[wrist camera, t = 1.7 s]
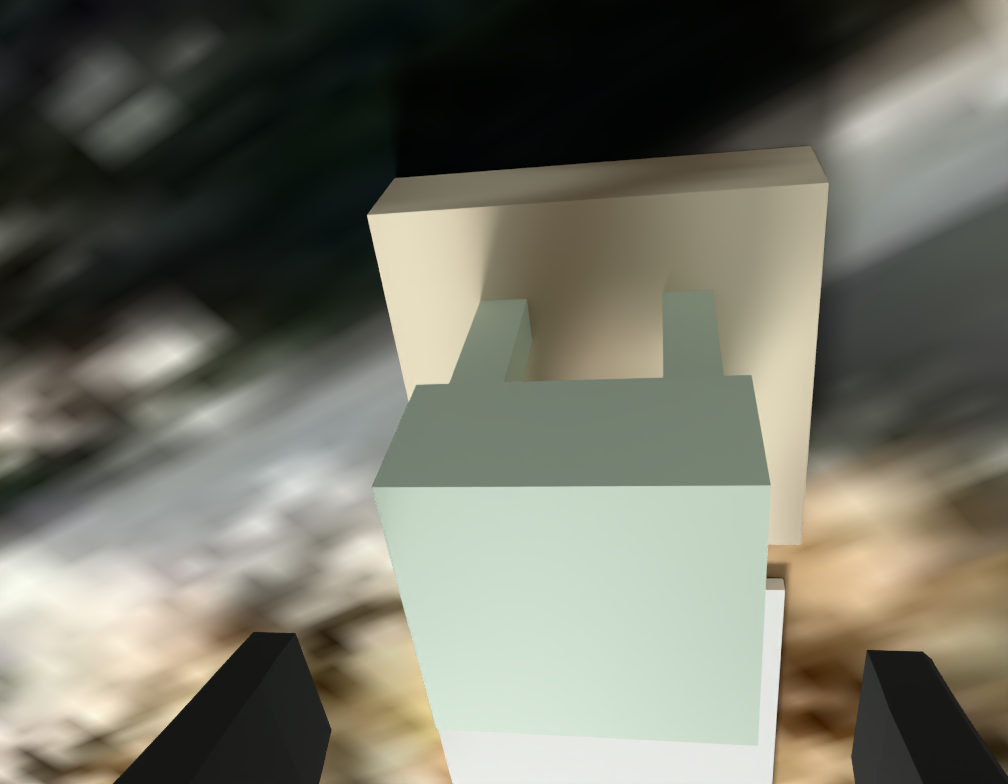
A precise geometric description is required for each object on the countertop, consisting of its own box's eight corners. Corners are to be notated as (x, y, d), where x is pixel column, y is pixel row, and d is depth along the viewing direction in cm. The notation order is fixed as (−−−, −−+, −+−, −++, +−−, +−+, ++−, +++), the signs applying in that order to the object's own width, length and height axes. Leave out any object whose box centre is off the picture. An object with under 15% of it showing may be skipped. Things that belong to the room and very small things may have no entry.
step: (810, 145, 16) (829, 182, 14) (788, 485, 20) (801, 544, 18) (394, 178, 17) (367, 215, 16) (456, 487, 21) (439, 542, 20)
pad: (782, 578, 21) (785, 590, 21) (768, 809, 27) (769, 820, 26) (403, 572, 23) (399, 583, 23) (459, 788, 29) (456, 800, 28)
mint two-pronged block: (733, 270, 15) (771, 485, 10) (729, 490, 18) (758, 746, 13) (459, 284, 16) (371, 487, 11) (494, 491, 19) (435, 729, 14)
